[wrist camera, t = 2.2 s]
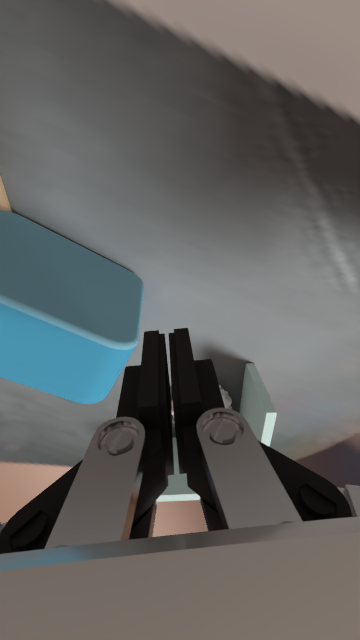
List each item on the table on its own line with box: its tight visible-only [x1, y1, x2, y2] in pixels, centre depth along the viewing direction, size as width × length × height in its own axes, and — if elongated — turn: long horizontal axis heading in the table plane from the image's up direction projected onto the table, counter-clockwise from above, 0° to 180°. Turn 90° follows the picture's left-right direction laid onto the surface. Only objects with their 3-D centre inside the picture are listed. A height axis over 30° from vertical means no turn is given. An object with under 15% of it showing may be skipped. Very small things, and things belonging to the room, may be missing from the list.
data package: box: [0, 210, 144, 404], centre depth 18 cm, size 12×4×12 cm, turn 60°
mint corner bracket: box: [157, 363, 277, 502], centre depth 29 cm, size 12×12×8 cm
